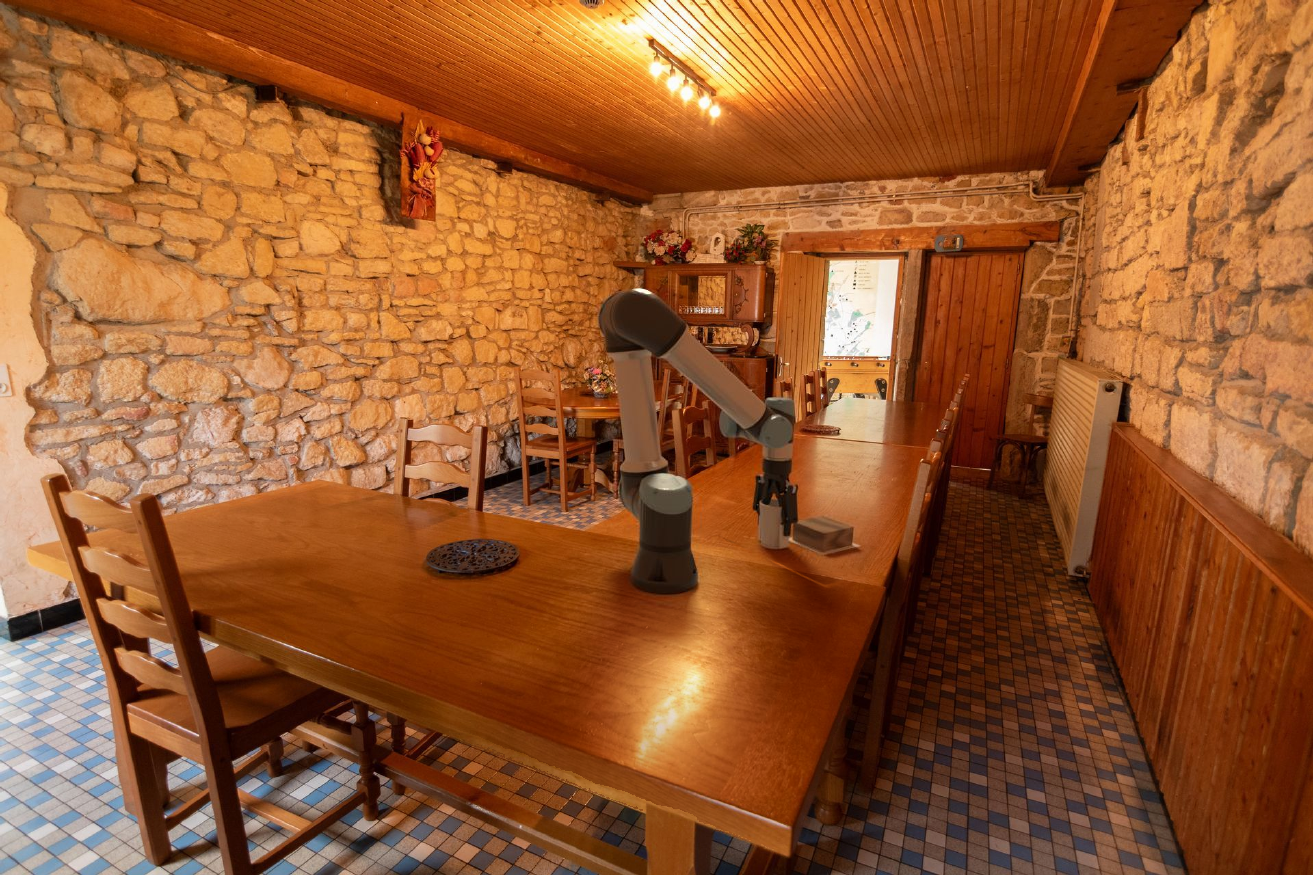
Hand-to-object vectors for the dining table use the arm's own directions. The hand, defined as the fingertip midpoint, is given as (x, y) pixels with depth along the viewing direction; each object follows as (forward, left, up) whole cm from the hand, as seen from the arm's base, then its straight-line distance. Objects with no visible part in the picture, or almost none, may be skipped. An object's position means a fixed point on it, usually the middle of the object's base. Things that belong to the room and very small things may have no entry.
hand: (772, 542), depth 162 cm
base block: (+13, -5, -1) cm, 14 cm away
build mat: (+13, -5, -1) cm, 14 cm away
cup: (0, 0, -1) cm, 1 cm away
